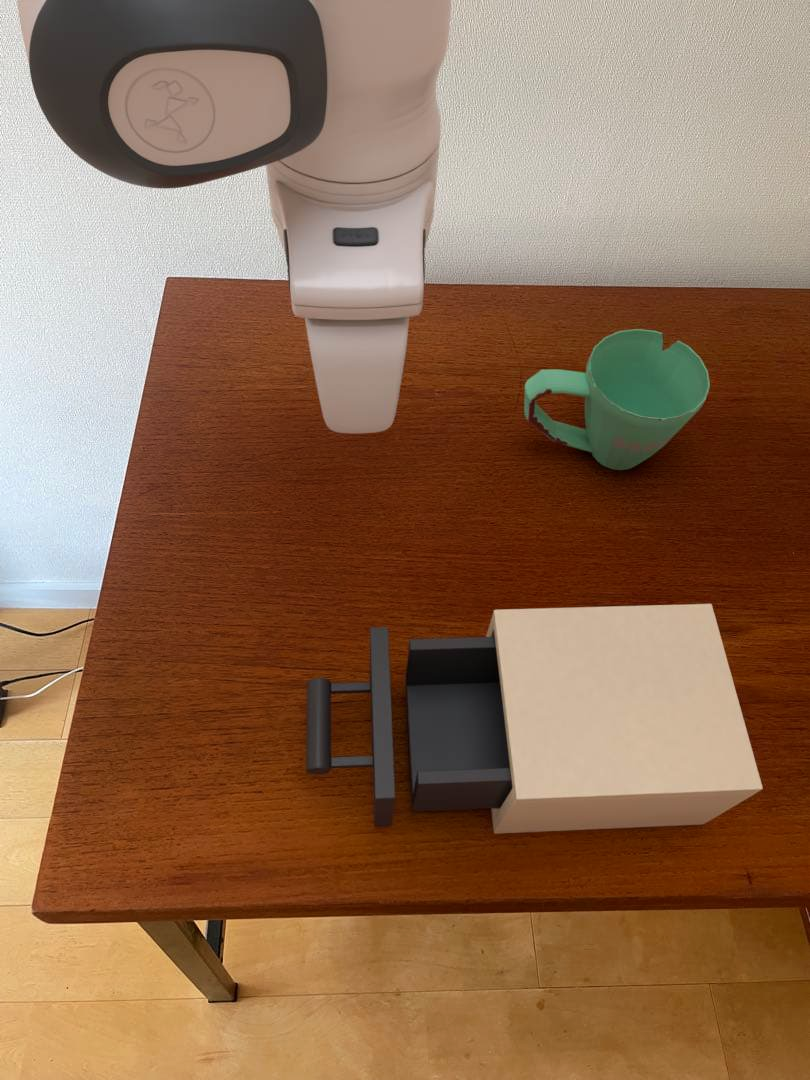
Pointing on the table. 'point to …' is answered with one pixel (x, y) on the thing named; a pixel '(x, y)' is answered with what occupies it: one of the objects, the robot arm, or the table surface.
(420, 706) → the drawer
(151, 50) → the robot arm
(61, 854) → the table surface
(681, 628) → the beige cabinet housing
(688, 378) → the mug
